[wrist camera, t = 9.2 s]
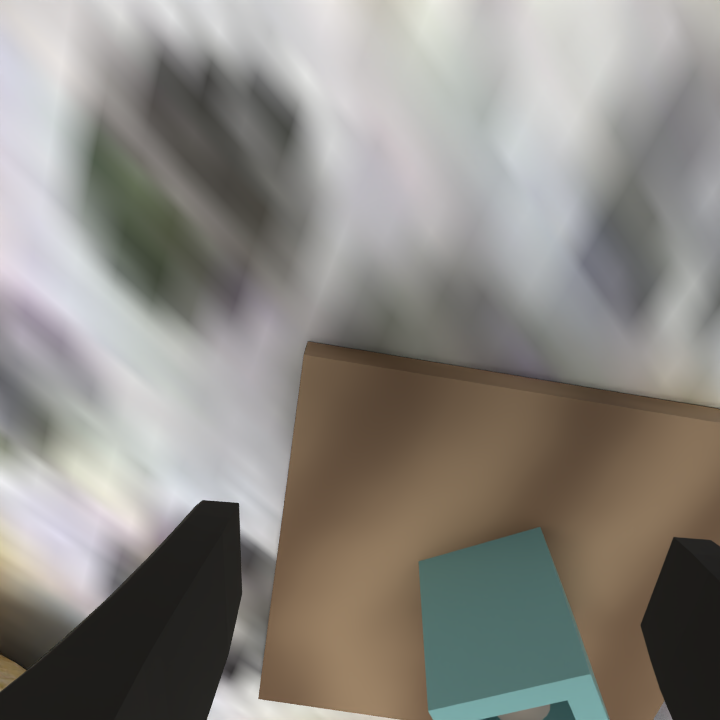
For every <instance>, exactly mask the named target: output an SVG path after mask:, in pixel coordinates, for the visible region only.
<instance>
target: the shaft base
mask: <svg viewBox="0 0 720 720" xmlns="http://www.w3.org/2000/svg"><path fill="white" fill-rule="evenodd" d="M538 527H541V530H542V533H543V535H544V538H545V541H546V543H547V546H548V549H549V551H550V554H551V557H552V559H553V562H554V565H555V567H556V570H557V573H558V575H559V578H560V581H561V583H562V586H563V589H564V591H565V594H566V597H567V599H568V602H569V605H570V607H571V610H572V613H573V615H574V618H575V621H576V624H577V627H578V630H579V633H580V635H581V638H582V641H583V644H584V647H585V650H586V653H587V656H588V659H589V661H590V664H591V667H592V670H593V673H594V676H595V679H596V682H597V684H598V687H599V690H600V693H601V696H602V699H603V702H604V705H605V708H606V710H607V713H608V716H609V719H610V720H653V719H654V717H655V715H656V714H657V712H658V710H659V709H660V707H661V705H662V704H663V702H664V698H663V696H662V693H661V691H660V688H659V685H658V682H657V679H656V676H655V673H654V670H653V667H652V664H651V661H650V657H649V654H648V650H647V647H646V643H645V640H644V636H643V633H642V629H641V626H640V625H641V622H642V619H643V617H644V614H645V611H646V609H647V606H648V603H649V601H650V598H651V595H652V593H653V590H654V587H655V585H656V582H657V579H658V577H659V574H660V571H661V569H662V566H663V563H664V561H665V558H666V555H667V553H668V550H669V548H670V545H671V542H672V540H673V537H680V538H693V539H706V540H712V541H713V542H714V543H716V544H717V545H719V546H720V409H716V408H710V407H704V406H698V405H692V404H686V403H679V402H673V401H667V400H661V399H655V398H649V397H643V396H637V395H631V394H625V393H619V392H613V391H606V390H600V389H594V388H588V387H582V386H576V385H570V384H564V383H558V382H552V381H546V380H539V379H533V378H527V377H521V376H515V375H509V374H503V373H497V372H491V371H485V370H479V369H473V368H466V367H460V366H454V365H448V364H442V363H436V362H430V361H424V360H418V359H412V358H406V357H400V356H393V355H387V354H381V353H375V352H369V351H363V350H357V349H351V348H345V347H339V346H333V345H327V344H320V343H314V342H308V343H307V346H306V349H305V353H304V357H303V365H302V372H301V380H300V387H299V395H298V403H297V410H296V418H295V425H294V433H293V440H292V448H291V456H290V463H289V471H288V478H287V486H286V493H285V501H284V508H283V516H282V524H281V531H280V539H279V546H278V554H277V561H276V569H275V577H274V584H273V592H272V599H271V607H270V614H269V622H268V630H267V637H266V645H265V652H264V660H263V667H262V675H261V683H260V690H259V698H258V699H263V700H269V701H276V702H283V703H290V704H297V705H304V706H311V707H318V708H324V709H331V710H338V711H345V712H352V713H359V714H366V715H373V716H379V717H386V718H393V719H400V720H433V719H432V717H431V715H430V714H429V712H428V702H427V687H426V671H425V655H424V640H423V624H422V608H421V593H420V577H419V561H422V560H425V559H429V558H432V557H436V556H439V555H443V554H447V553H450V552H454V551H457V550H461V549H464V548H468V547H471V546H475V545H478V544H482V543H485V542H489V541H492V540H496V539H499V538H503V537H506V536H510V535H513V534H517V533H520V532H524V531H527V530H531V529H534V528H538ZM549 711H550V704H548V705H544V706H539V707H535V708H530V709H526V710H521V711H517V712H512V713H508V714H503V715H499V716H498V717H499V718H500V719H501V720H542V719H544V718H545V717H546V716H547V715H548V713H549Z"/></svg>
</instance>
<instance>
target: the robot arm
mask: <svg viewBox="0 0 720 720" xmlns="http://www.w3.org/2000/svg"><path fill="white" fill-rule="evenodd" d="M241 596H242V579H241V549H240V520H239V503H231V502H219V501H206V500H202V501H201V502H200V503H199V504H197V505H196V506H195V507H194V508H193V510H192V511H191V512H190V513H189V514H188V515H187V516H186V517H185V518H184V520H183V521H182V522H181V523H180V524H179V525H178V526H177V527H176V528H175V529H174V531H173V532H172V533H171V534H170V535H169V536H168V537H167V538H166V539H165V540H164V541H163V542H162V544H161V545H160V546H159V547H158V548H157V549H156V550H155V551H154V552H153V553H152V554H151V555H150V556H149V557H148V558H147V559H146V560H145V561H144V562H143V563H142V564H141V565H140V566H139V567H138V568H137V569H136V570H135V571H134V572H133V573H132V574H131V575H130V576H129V577H128V578H127V579H126V580H125V581H124V582H123V583H122V584H121V585H120V586H119V587H118V588H117V589H116V590H115V591H114V592H113V593H112V594H111V595H110V596H109V597H108V598H107V599H106V600H105V601H104V602H103V603H102V604H101V605H100V606H99V607H98V608H97V609H95V610H94V611H93V612H92V613H91V614H90V615H89V616H88V617H87V618H86V619H85V620H83V621H82V622H81V623H80V624H79V625H78V626H77V627H76V628H75V629H74V630H73V631H71V632H70V633H69V634H68V635H67V636H66V637H65V638H64V639H63V640H62V641H61V642H59V643H58V644H57V645H56V646H55V647H54V648H52V649H51V650H50V651H49V652H48V653H47V654H45V655H44V656H43V657H42V658H41V659H40V660H38V661H37V662H36V663H35V664H34V665H32V666H31V667H30V668H29V669H28V670H26V671H25V672H24V673H23V674H22V675H20V676H19V677H18V678H17V679H15V680H14V681H13V682H12V683H10V684H9V685H8V686H7V687H5V688H4V689H3V690H2V691H0V720H207V717H208V714H209V711H210V708H211V705H212V702H213V699H214V696H215V693H216V690H217V687H218V684H219V681H220V678H221V675H222V672H223V669H224V666H225V663H226V660H227V657H228V654H229V650H230V646H231V641H232V637H233V632H234V628H235V624H236V619H237V614H238V610H239V605H240V600H241ZM640 626H641V629H642V633H643V636H644V640H645V643H646V647H647V650H648V654H649V657H650V661H651V664H652V667H653V670H654V673H655V676H656V679H657V682H658V685H659V688H660V691H661V693H662V696H663V698H664V700H665V703H666V705H667V707H668V710H669V712H670V714H671V716H672V719H673V720H720V546H719V545H717V544H716V543H714V542H713V541H712V540H706V539H693V538H680V537H673V540H672V542H671V545H670V548H669V550H668V553H667V555H666V558H665V561H664V563H663V566H662V569H661V571H660V574H659V577H658V579H657V582H656V585H655V587H654V590H653V593H652V595H651V598H650V601H649V603H648V606H647V609H646V611H645V614H644V617H643V619H642V622H641V625H640Z"/></svg>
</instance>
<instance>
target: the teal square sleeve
mask: <svg viewBox="0 0 720 720" xmlns="http://www.w3.org/2000/svg"><path fill="white" fill-rule="evenodd" d="M419 577H420V593H421V608H422V624H423V640H424V655H425V671H426V687H427V702H428V712H429V714H430V715H431V717H432V719H433V720H501V719H500V718H499V717H498V716H499V715H503V714H508V713H512V712H517V711H521V710H526V709H530V708H535V707H539V706H544V705H548V704H550V711H549V713H548V715H547V716H546V717H545V718H544V719H542V720H610V719H609V716H608V713H607V710H606V708H605V705H604V702H603V699H602V696H601V693H600V690H599V687H598V684H597V682H596V679H595V676H594V673H593V670H592V667H591V664H590V661H589V659H588V656H587V653H586V650H585V647H584V644H583V641H582V638H581V635H580V633H579V630H578V627H577V624H576V621H575V618H574V615H573V613H572V610H571V607H570V605H569V602H568V599H567V597H566V594H565V591H564V589H563V586H562V583H561V581H560V578H559V575H558V573H557V570H556V567H555V565H554V562H553V559H552V557H551V554H550V551H549V549H548V546H547V543H546V541H545V538H544V535H543V533H542V530H541V527H538V528H534V529H531V530H527V531H524V532H520V533H517V534H513V535H510V536H506V537H503V538H499V539H496V540H492V541H489V542H485V543H482V544H478V545H475V546H471V547H468V548H464V549H461V550H457V551H454V552H450V553H447V554H443V555H439V556H436V557H432V558H429V559H425V560H422V561H419Z"/></svg>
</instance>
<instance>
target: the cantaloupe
mask: <svg viewBox="0 0 720 720" xmlns="http://www.w3.org/2000/svg"><path fill="white" fill-rule="evenodd" d="M25 671H26V670H25V669H24V668H23V667H21V666H20V665H19V664H17V663H15V662H14V661H12V660H10V659H8V658H6V657H4V656H2V655H0V691H2V690H3V689H4V688H5V687H7V686H8V685H9V684H10V683H12V682H13V681H14V680H15V679H17V678H18V677H19V676H20V675H22V674H23V673H24V672H25Z"/></svg>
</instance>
